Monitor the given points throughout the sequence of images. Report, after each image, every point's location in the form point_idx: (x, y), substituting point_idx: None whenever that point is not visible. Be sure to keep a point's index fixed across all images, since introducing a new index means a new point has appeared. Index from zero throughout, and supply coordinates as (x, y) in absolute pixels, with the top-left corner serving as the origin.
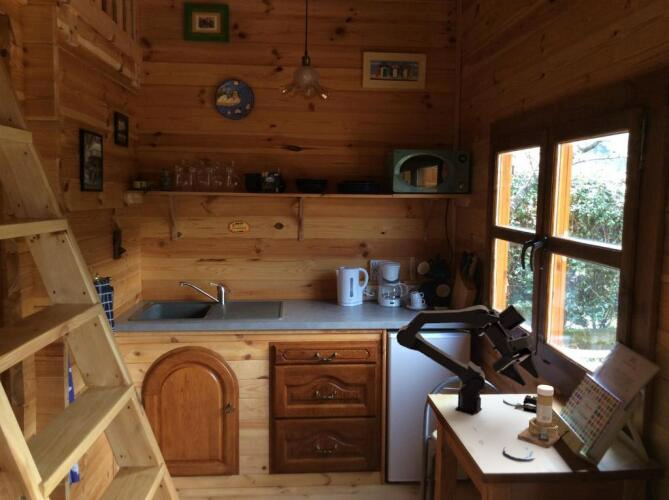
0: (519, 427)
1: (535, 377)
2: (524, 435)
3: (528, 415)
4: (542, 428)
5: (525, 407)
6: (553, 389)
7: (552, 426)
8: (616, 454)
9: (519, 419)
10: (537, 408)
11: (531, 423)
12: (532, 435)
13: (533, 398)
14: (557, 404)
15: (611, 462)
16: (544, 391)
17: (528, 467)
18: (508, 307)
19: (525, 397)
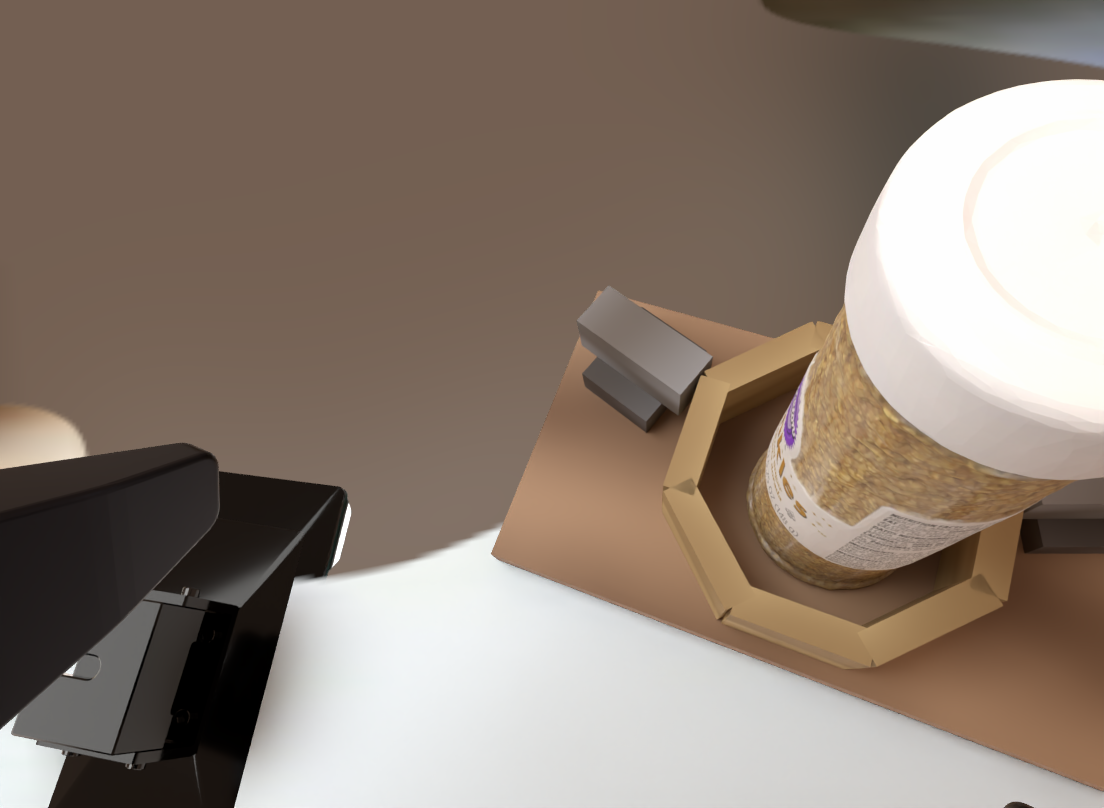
0: (761, 780)
1: (185, 546)
2: (1091, 710)
3: (370, 688)
4: (1059, 492)
5: (190, 731)
6: (1081, 84)
7: (719, 421)
8: (921, 12)
9: (521, 789)
10: (987, 527)
11: (946, 631)
12: (1028, 618)
13: (121, 637)
14: (23, 421)
15: (1096, 31)
16: None
17: None
18: None
19: (102, 746)
